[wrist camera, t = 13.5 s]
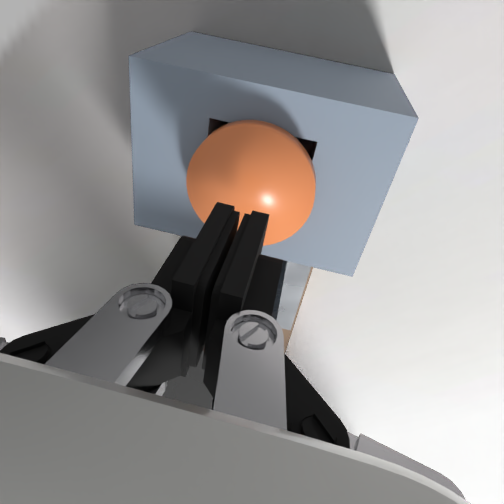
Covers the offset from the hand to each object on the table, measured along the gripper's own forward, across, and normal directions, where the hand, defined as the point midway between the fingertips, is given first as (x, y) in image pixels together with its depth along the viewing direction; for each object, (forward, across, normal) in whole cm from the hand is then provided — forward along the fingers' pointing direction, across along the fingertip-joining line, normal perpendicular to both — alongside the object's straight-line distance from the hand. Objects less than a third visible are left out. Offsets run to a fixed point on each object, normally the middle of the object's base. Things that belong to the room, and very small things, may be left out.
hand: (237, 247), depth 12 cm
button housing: (+11, 0, -1) cm, 11 cm away
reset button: (+6, 0, -1) cm, 7 cm away
